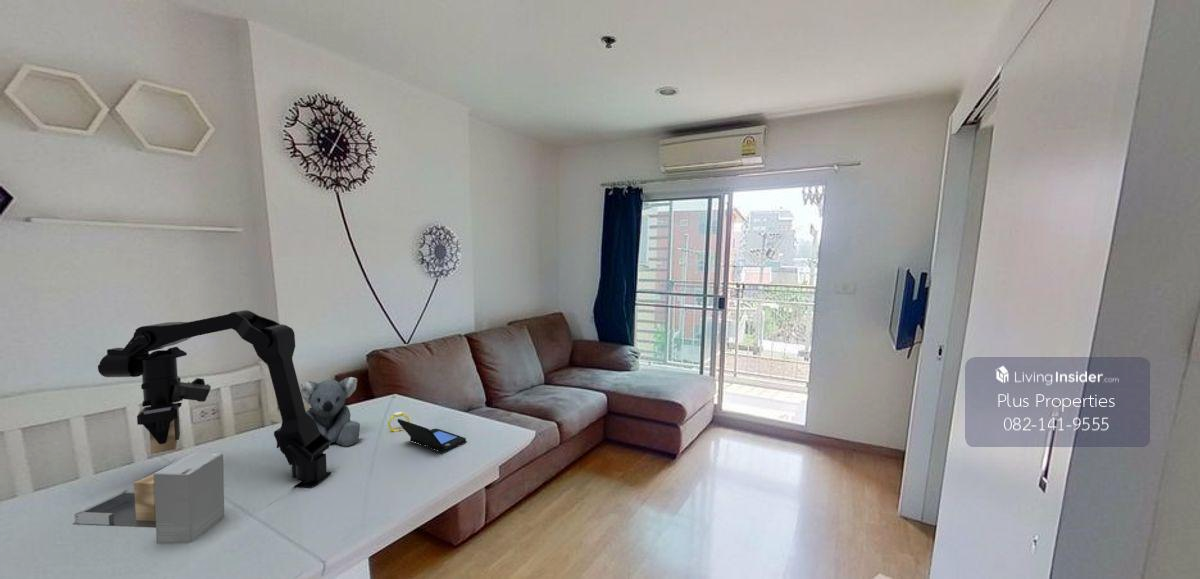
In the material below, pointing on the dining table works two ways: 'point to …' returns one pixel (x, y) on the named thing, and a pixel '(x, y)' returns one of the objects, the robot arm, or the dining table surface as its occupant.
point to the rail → (113, 513)
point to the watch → (397, 416)
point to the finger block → (171, 439)
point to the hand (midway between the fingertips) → (164, 439)
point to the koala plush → (332, 409)
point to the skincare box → (189, 497)
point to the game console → (432, 437)
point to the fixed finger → (145, 499)
